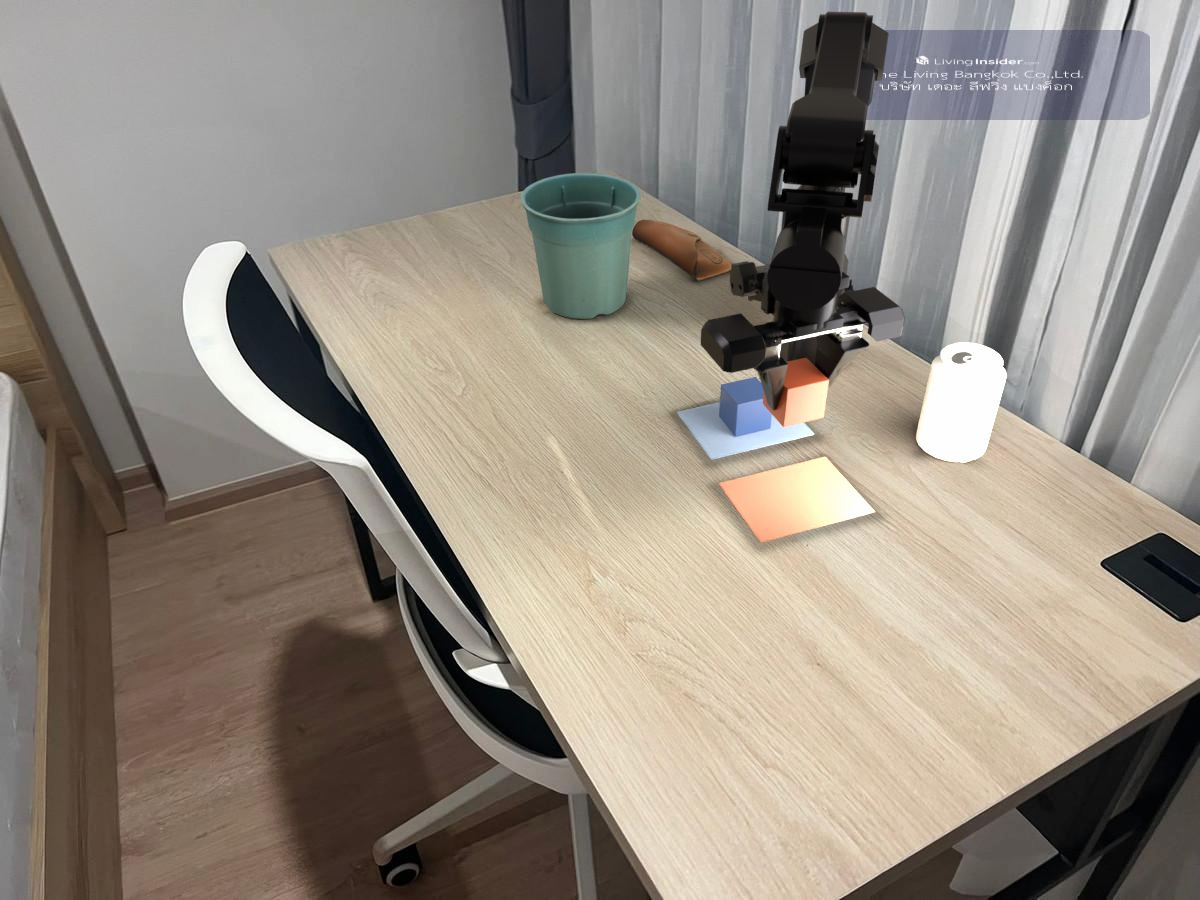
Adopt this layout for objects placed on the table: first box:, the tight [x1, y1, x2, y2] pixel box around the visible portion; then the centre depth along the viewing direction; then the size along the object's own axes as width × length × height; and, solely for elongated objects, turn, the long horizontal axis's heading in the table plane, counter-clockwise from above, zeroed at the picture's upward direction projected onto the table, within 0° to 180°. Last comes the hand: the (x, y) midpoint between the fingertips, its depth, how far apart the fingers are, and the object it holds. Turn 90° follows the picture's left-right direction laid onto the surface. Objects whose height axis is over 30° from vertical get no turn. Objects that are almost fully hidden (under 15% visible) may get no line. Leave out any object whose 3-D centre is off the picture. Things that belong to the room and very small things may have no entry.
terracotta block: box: [763, 358, 829, 427], centre depth 89 cm, size 4×4×4 cm
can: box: [915, 342, 1007, 464], centre depth 97 cm, size 8×8×12 cm
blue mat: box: [676, 401, 816, 461], centre depth 105 cm, size 13×10×1 cm
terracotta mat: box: [717, 455, 876, 544], centre depth 94 cm, size 13×10×1 cm
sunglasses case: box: [631, 219, 732, 282], centre depth 142 cm, size 18×7×7 cm
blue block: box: [719, 376, 772, 437], centre depth 104 cm, size 4×4×4 cm
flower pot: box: [520, 172, 642, 320], centre depth 127 cm, size 16×16×16 cm
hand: (794, 402), depth 90 cm, fingers closed on terracotta block, 4 cm apart
